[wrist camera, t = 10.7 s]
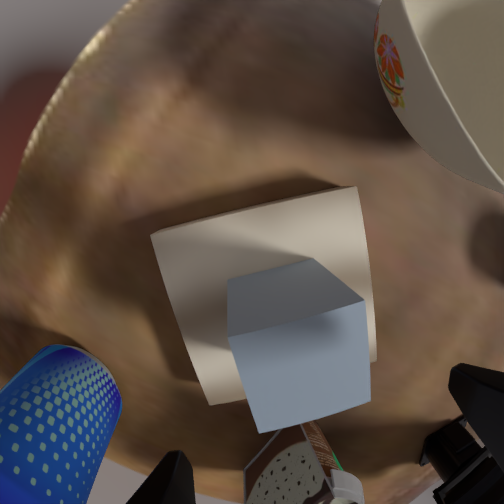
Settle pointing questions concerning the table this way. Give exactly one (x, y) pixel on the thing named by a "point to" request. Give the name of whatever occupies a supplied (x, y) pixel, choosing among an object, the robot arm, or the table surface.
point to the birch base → (256, 269)
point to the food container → (299, 471)
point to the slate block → (298, 343)
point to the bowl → (447, 80)
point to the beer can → (56, 427)
